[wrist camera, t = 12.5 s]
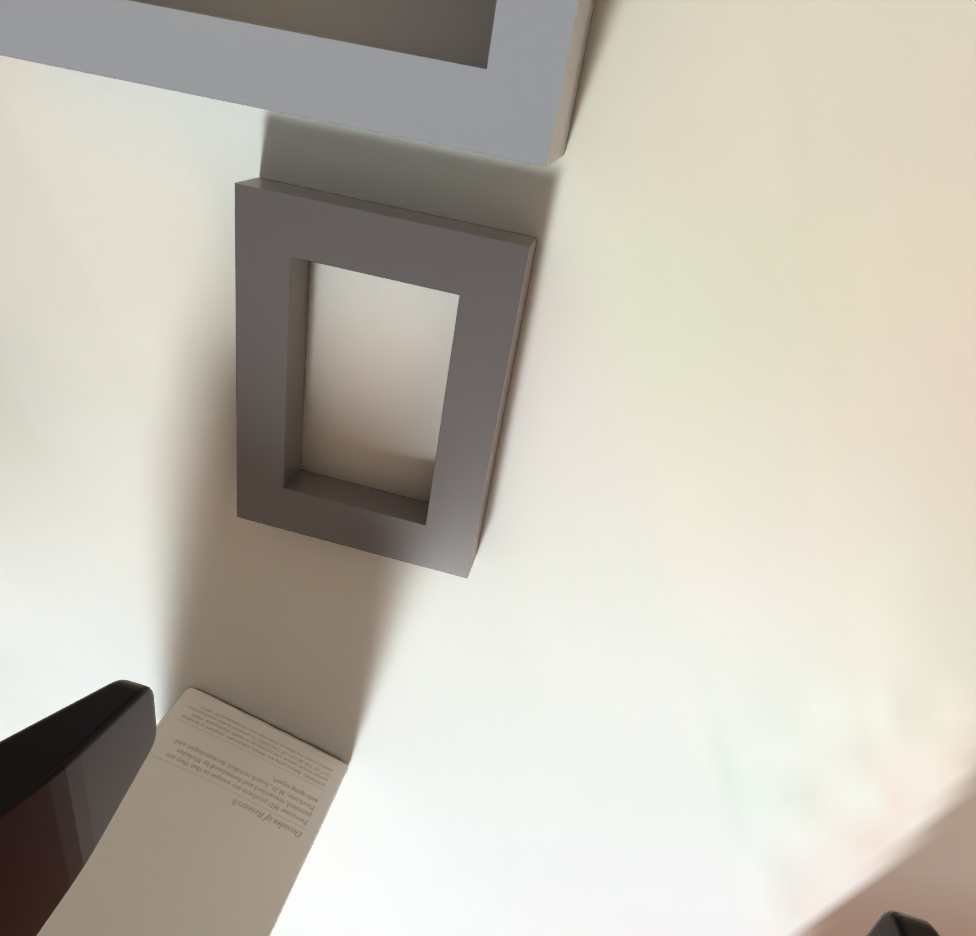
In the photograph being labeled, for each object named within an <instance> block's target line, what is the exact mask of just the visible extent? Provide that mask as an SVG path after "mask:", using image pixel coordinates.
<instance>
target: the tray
mask: <svg viewBox="0 0 976 936" xmlns="http://www.w3.org/2000/svg"><path fill="white" fill-rule="evenodd" d="M594 3H595V0H0V55H2V56H7V57H12V58H17V59H22V60H27V61H31V62H36V63H41V64H46V65H51V66H56V67H61V68H66V69H71V70H75V71H80V72H85V73H90V74H95V75H100V76H105V77H110V78H114V79H119V80H124V81H129V82H134V83H139V84H144V85H149V86H154V87H158V88H163V89H168V90H173V91H178V92H183V93H188V94H193V95H197V96H202V97H207V98H212V99H217V100H222V101H227V102H232V103H237V104H241V105H246V106H251V107H256V108H261V109H266V110H271V111H276V112H281V113H285V114H290V115H295V116H300V117H305V118H310V119H315V120H320V121H324V122H329V123H334V124H339V125H344V126H349V127H354V128H359V129H364V130H368V131H373V132H378V133H383V134H388V135H393V136H398V137H403V138H407V139H412V140H417V141H422V142H427V143H432V144H437V145H442V146H447V147H451V148H456V149H461V150H466V151H471V152H476V153H481V154H486V155H491V156H495V157H500V158H505V159H510V160H515V161H520V162H525V163H530V164H534V165H539V166H544V167H547V166H549V165H550V164H552V163H553V162H554V161H556V160H557V159H559V158H560V157H561V156H563V155H564V153H565V148H566V143H567V138H568V133H569V128H570V123H571V118H572V113H573V108H574V103H575V98H576V93H577V88H578V83H579V78H580V73H581V68H582V63H583V58H584V53H585V48H586V43H587V38H588V33H589V28H590V23H591V18H592V13H593V8H594Z"/></svg>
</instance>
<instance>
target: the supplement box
mask: <svg viewBox="0 0 976 936" xmlns="http://www.w3.org/2000/svg"><path fill="white" fill-rule="evenodd" d="M156 728H157V731H156V738H155V742H154V744H153V747H152V749H151V751H150V753H149V755H148V756H147V758H146V760H145V762H144V763H143V765H142V767H141V769H140V771H139V772H138V774H137V776H136V778H135V779H134V781H133V783H132V785H131V786H130V788H129V790H128V792H127V793H126V795H125V797H124V799H123V800H122V802H121V804H120V806H119V808H118V809H117V811H116V813H115V815H114V816H113V818H112V820H111V822H110V823H109V825H108V827H107V829H106V830H105V832H104V834H103V836H102V838H101V839H100V841H99V843H98V845H97V846H96V848H95V850H94V851H93V853H92V855H91V856H90V858H89V860H88V861H87V863H86V865H85V866H84V868H83V869H82V871H81V872H80V874H79V875H78V877H77V878H76V880H75V881H74V883H73V884H72V886H71V887H70V889H69V890H68V892H67V893H66V895H65V896H64V897H63V899H62V900H61V902H60V903H59V905H58V906H57V907H56V909H55V910H54V912H53V913H52V915H51V916H50V917H49V919H48V920H47V922H46V923H45V925H44V926H43V927H42V929H41V930H40V932H39V933H38V934H37V936H270V934H271V932H272V930H273V928H274V926H275V923H276V921H277V919H278V917H279V915H280V913H281V911H282V908H283V906H284V904H285V902H286V900H287V898H288V895H289V893H290V891H291V889H292V887H293V885H294V883H295V881H296V879H297V876H298V874H299V872H300V870H301V868H302V866H303V864H304V862H305V860H306V857H307V855H308V853H309V851H310V849H311V847H312V845H313V843H314V841H315V838H316V836H317V834H318V832H319V830H320V828H321V826H322V824H323V821H324V819H325V817H326V815H327V813H328V811H329V808H330V806H331V804H332V802H333V800H334V797H335V795H336V793H337V791H338V788H339V786H340V784H341V782H342V780H343V778H344V776H345V774H346V772H347V770H348V766H347V765H346V764H345V763H343V762H341V761H339V760H338V759H336V758H334V757H332V756H330V755H328V754H326V753H324V752H322V751H320V750H318V749H316V748H314V747H312V746H310V745H308V744H306V743H304V742H302V741H300V740H298V739H296V738H294V737H292V736H291V735H289V734H287V733H285V732H283V731H280V730H278V729H276V728H274V727H272V726H270V725H269V724H267V723H265V722H263V721H261V720H259V719H257V718H255V717H253V716H251V715H248V714H246V713H244V712H242V711H240V710H238V709H236V708H234V707H232V706H230V705H228V704H226V703H224V702H222V701H220V700H218V699H216V698H214V697H212V696H210V695H208V694H206V693H203V692H201V691H199V690H197V689H194V688H189V689H187V690H185V691H184V692H183V694H182V695H181V696H180V697H179V698H178V700H177V701H176V702H175V703H174V705H173V706H172V707H171V709H170V710H169V711H168V712H167V714H166V715H165V716H164V717H163V719H162V720H161V721H160V722H159V724H158V725H157V726H156Z"/></svg>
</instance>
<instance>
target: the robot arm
mask: <svg viewBox="0 0 976 936" xmlns="http://www.w3.org/2000/svg"><path fill="white" fill-rule="evenodd" d="M156 731H157V728H156V717H155V705H154V695H153V692H152V690H151V689H150V688H149V687H147V686H144V685H141V684H138V683H134V682H131V681H128V680H118V681H115V682H112V683H110V684H108V685H107V686H105V687H103V688H101V689H99V690H97V691H95V692H93V693H91V694H90V695H88V696H86V697H84V698H82V699H80V700H78V701H76V702H74V703H73V704H71V705H69V706H67V707H65V708H63V709H61V710H59V711H57V712H55V713H54V714H52V715H50V716H48V717H46V718H44V719H42V720H40V721H38V722H37V723H35V724H33V725H31V726H29V727H27V728H25V729H23V730H21V731H20V732H18V733H16V734H14V735H12V736H10V737H8V738H6V739H4V740H2V741H1V742H0V936H37V934H38V933H39V932H40V930H41V929H42V927H43V926H44V925H45V923H46V922H47V920H48V919H49V917H50V916H51V915H52V913H53V912H54V910H55V909H56V907H57V906H58V905H59V903H60V902H61V900H62V899H63V897H64V896H65V895H66V893H67V892H68V890H69V889H70V887H71V886H72V884H73V883H74V881H75V880H76V878H77V877H78V875H79V874H80V872H81V871H82V869H83V868H84V866H85V865H86V863H87V861H88V860H89V858H90V856H91V855H92V853H93V851H94V850H95V848H96V846H97V845H98V843H99V841H100V839H101V838H102V836H103V834H104V832H105V830H106V829H107V827H108V825H109V823H110V822H111V820H112V818H113V816H114V815H115V813H116V811H117V809H118V808H119V806H120V804H121V802H122V800H123V799H124V797H125V795H126V793H127V792H128V790H129V788H130V786H131V785H132V783H133V781H134V779H135V778H136V776H137V774H138V772H139V771H140V769H141V767H142V765H143V763H144V762H145V760H146V758H147V756H148V755H149V753H150V751H151V749H152V747H153V744H154V742H155V738H156ZM866 936H940V935H939V934H938V932H937V931H936V930H935V929H934V928H933V927H932V926H931V925H930V924H929V923H928V922H927V921H925V920H923V919H921V918H918V917H915V916H912V915H908V914H905V913H902V912H899V911H895V910H890V911H887V912H885V913H884V914H883V915H882V916H881V917H880V918H879V920H878V921H877V922H876V924H875V925H874V926H873V927H872V929H871V930H870V932H869V933H868V934H867V935H866Z"/></svg>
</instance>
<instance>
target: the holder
mask: <svg viewBox="0 0 976 936" xmlns="http://www.w3.org/2000/svg"><path fill="white" fill-rule="evenodd" d="M536 243H537V238H536V237H531V236H527V235H522V234H518V233H513V232H508V231H504V230H499V229H494V228H490V227H485V226H480V225H476V224H471V223H467V222H462V221H457V220H453V219H448V218H443V217H439V216H434V215H429V214H425V213H420V212H415V211H411V210H406V209H402V208H397V207H392V206H388V205H383V204H378V203H374V202H369V201H364V200H360V199H355V198H350V197H346V196H341V195H337V194H332V193H327V192H323V191H318V190H313V189H309V188H304V187H299V186H295V185H290V184H285V183H281V182H276V181H272V180H267V179H262V178H255V179H250V180H246V181H242V182H237V183H235V261H236V395H237V517H240V518H244V519H247V520H251V521H255V522H259V523H262V524H266V525H270V526H274V527H277V528H281V529H285V530H288V531H292V532H296V533H300V534H303V535H307V536H311V537H315V538H318V539H322V540H326V541H330V542H333V543H337V544H341V545H344V546H348V547H352V548H356V549H359V550H363V551H367V552H371V553H374V554H378V555H382V556H385V557H389V558H393V559H397V560H400V561H404V562H408V563H412V564H415V565H419V566H423V567H426V568H430V569H434V570H438V571H441V572H445V573H449V574H453V575H456V576H460V577H464V578H467V577H468V575H469V572H470V570H471V567H472V565H473V562H474V560H475V557H476V553H477V548H478V543H479V538H480V532H481V527H482V522H483V517H484V512H485V507H486V501H487V496H488V491H489V486H490V481H491V476H492V470H493V465H494V460H495V455H496V450H497V444H498V439H499V434H500V429H501V424H502V419H503V413H504V408H505V403H506V398H507V393H508V388H509V382H510V377H511V372H512V367H513V362H514V357H515V351H516V346H517V341H518V336H519V331H520V325H521V320H522V315H523V310H524V305H525V300H526V294H527V289H528V284H529V279H530V274H531V269H532V263H533V258H534V253H535V248H536ZM309 261H312V262H316V263H320V264H325V265H329V266H334V267H338V268H343V269H347V270H351V271H356V272H360V273H365V274H369V275H373V276H378V277H382V278H387V279H391V280H396V281H400V282H404V283H409V284H413V285H418V286H422V287H426V288H431V289H435V290H440V291H444V292H449V293H453V294H457V295H460V297H459V304H458V310H457V317H456V324H455V331H454V338H453V344H452V351H451V358H450V365H449V371H448V378H447V385H446V392H445V399H444V405H443V412H442V419H441V426H440V433H439V439H438V446H437V453H436V460H435V467H434V473H433V480H432V487H431V494H430V501H429V503H426V502H422V501H418V500H414V499H411V498H407V497H403V496H399V495H395V494H391V493H387V492H383V491H380V490H376V489H372V488H368V487H364V486H360V485H356V484H353V483H349V482H345V481H341V480H337V479H333V478H329V477H325V476H322V475H318V474H314V473H310V472H306V471H302V470H300V467H301V444H302V420H303V396H304V373H305V349H306V325H307V302H308V278H309Z"/></svg>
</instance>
